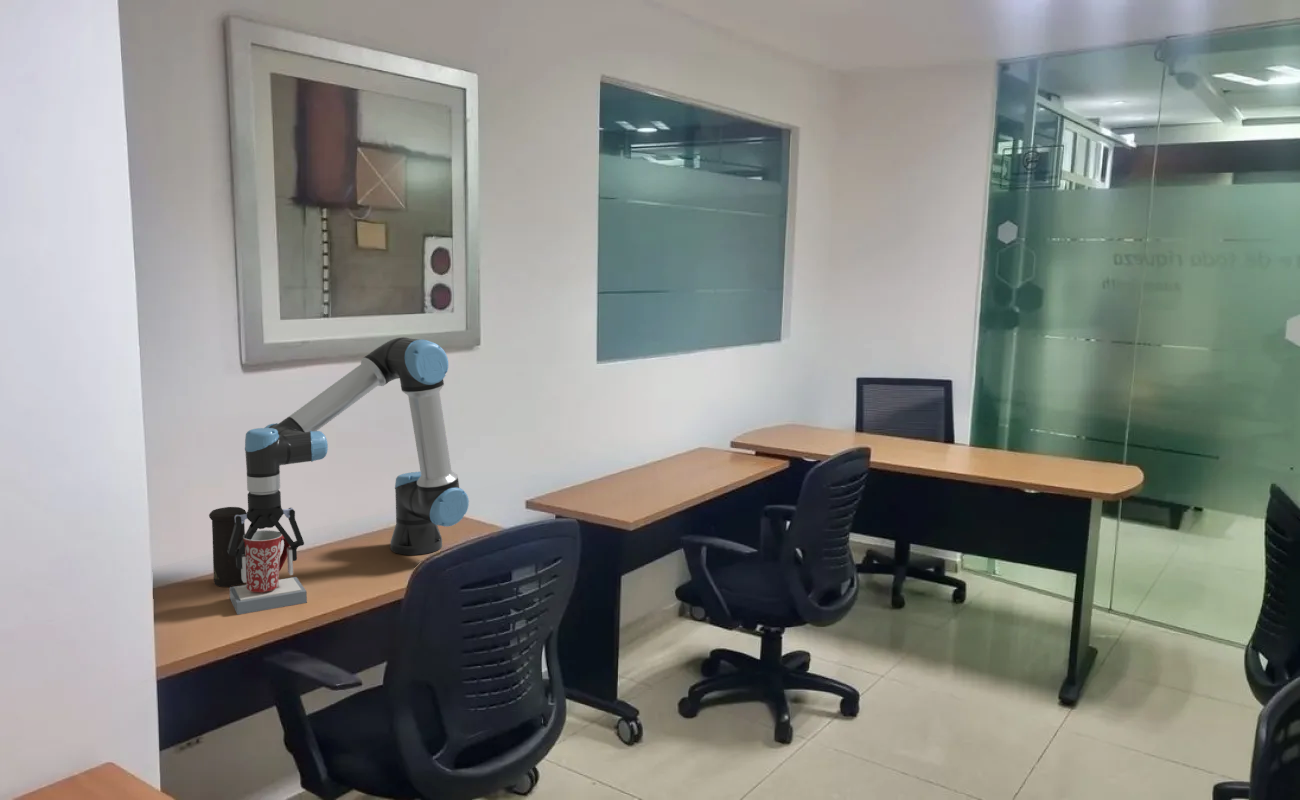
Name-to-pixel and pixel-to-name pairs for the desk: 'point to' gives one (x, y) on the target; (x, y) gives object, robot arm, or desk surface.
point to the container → (225, 546)
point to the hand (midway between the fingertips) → (267, 577)
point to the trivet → (268, 596)
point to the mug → (264, 560)
